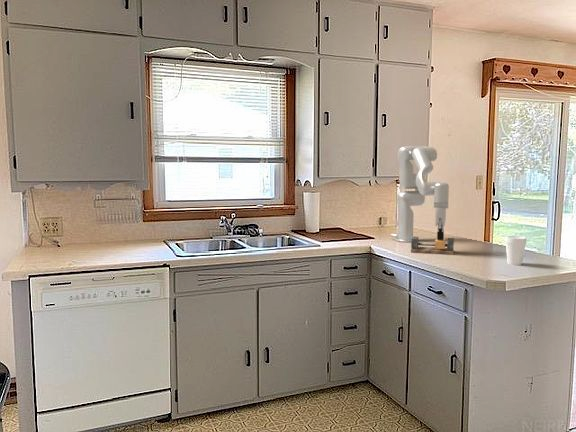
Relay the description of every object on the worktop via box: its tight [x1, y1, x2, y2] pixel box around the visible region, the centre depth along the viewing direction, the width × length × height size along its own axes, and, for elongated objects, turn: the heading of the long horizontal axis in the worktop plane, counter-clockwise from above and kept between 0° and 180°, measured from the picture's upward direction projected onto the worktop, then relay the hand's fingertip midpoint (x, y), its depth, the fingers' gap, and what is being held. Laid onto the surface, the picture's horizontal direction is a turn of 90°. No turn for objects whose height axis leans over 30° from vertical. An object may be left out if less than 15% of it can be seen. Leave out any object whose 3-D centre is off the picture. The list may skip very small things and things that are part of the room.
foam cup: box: [504, 235, 527, 266], centre depth 231 cm, size 10×9×13 cm
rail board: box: [410, 236, 455, 256], centre depth 265 cm, size 22×12×8 cm, turn 69°
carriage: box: [434, 228, 446, 249], centre depth 263 cm, size 5×7×10 cm
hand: (440, 238), depth 263 cm, fingers closed on carriage, 2 cm apart
